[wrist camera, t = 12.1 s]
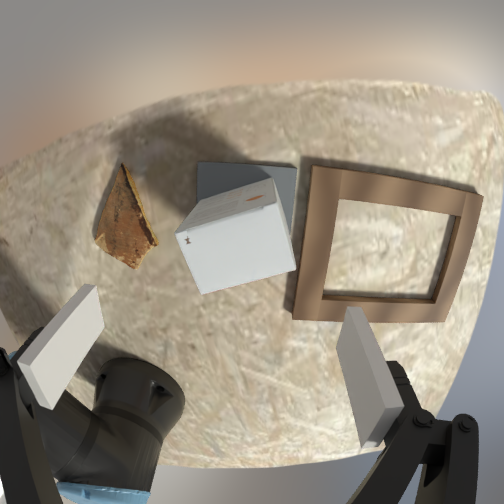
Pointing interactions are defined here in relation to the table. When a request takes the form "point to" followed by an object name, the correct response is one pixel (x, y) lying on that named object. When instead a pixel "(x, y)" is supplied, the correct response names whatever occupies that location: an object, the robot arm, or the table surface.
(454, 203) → the wooden picture frame
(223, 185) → the pad
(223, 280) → the small box
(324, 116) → the table surface
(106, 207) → the shard
